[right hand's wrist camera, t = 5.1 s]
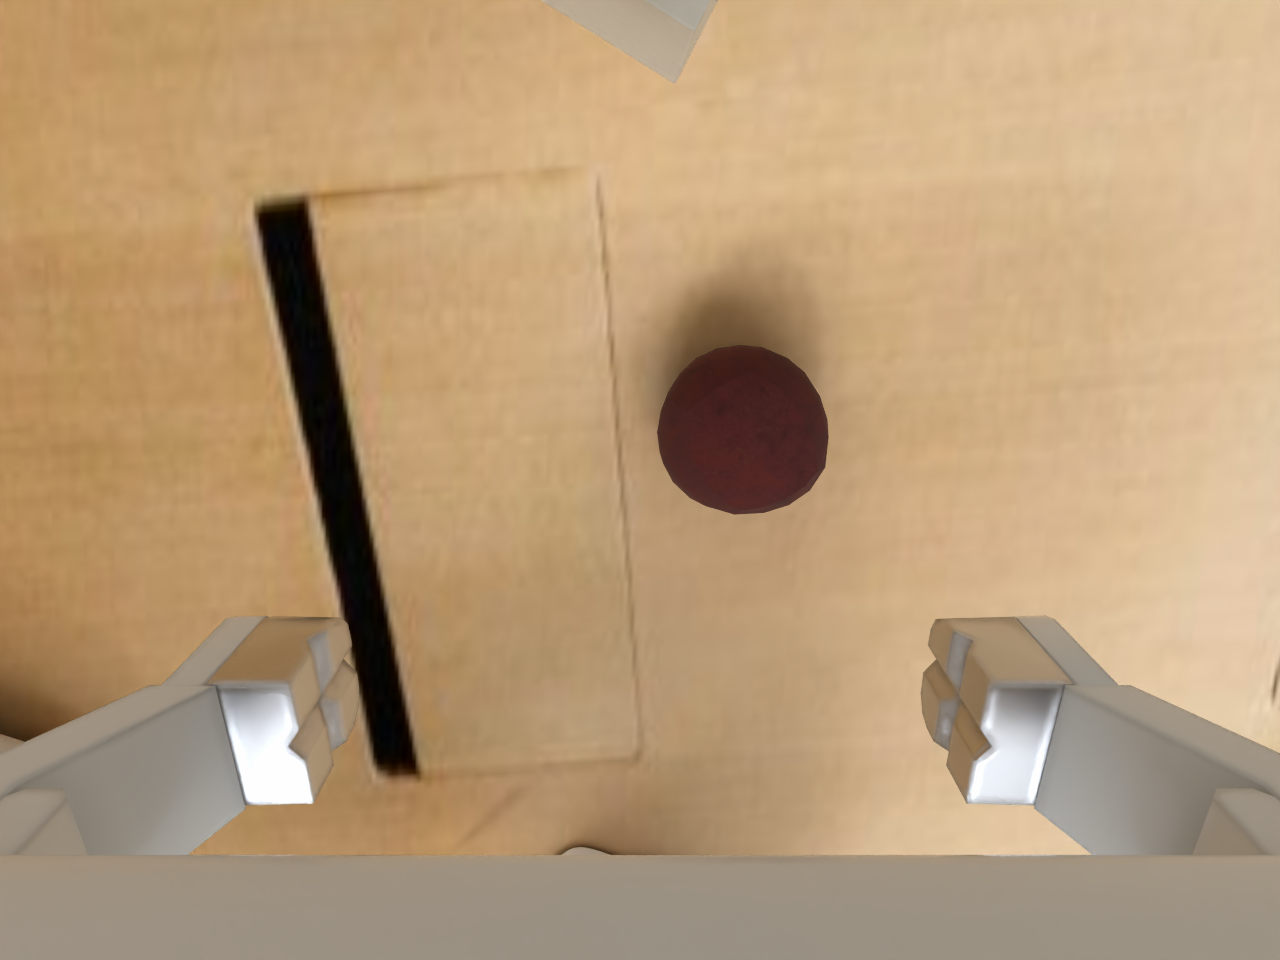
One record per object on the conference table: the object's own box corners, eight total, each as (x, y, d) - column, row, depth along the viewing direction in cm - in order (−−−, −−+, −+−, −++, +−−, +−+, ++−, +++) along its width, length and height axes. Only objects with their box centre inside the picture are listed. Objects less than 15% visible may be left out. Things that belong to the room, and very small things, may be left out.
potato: (759, 301, 34) (789, 328, 28) (835, 437, 37) (879, 491, 30) (624, 385, 36) (622, 429, 29) (706, 510, 38) (721, 577, 32)
